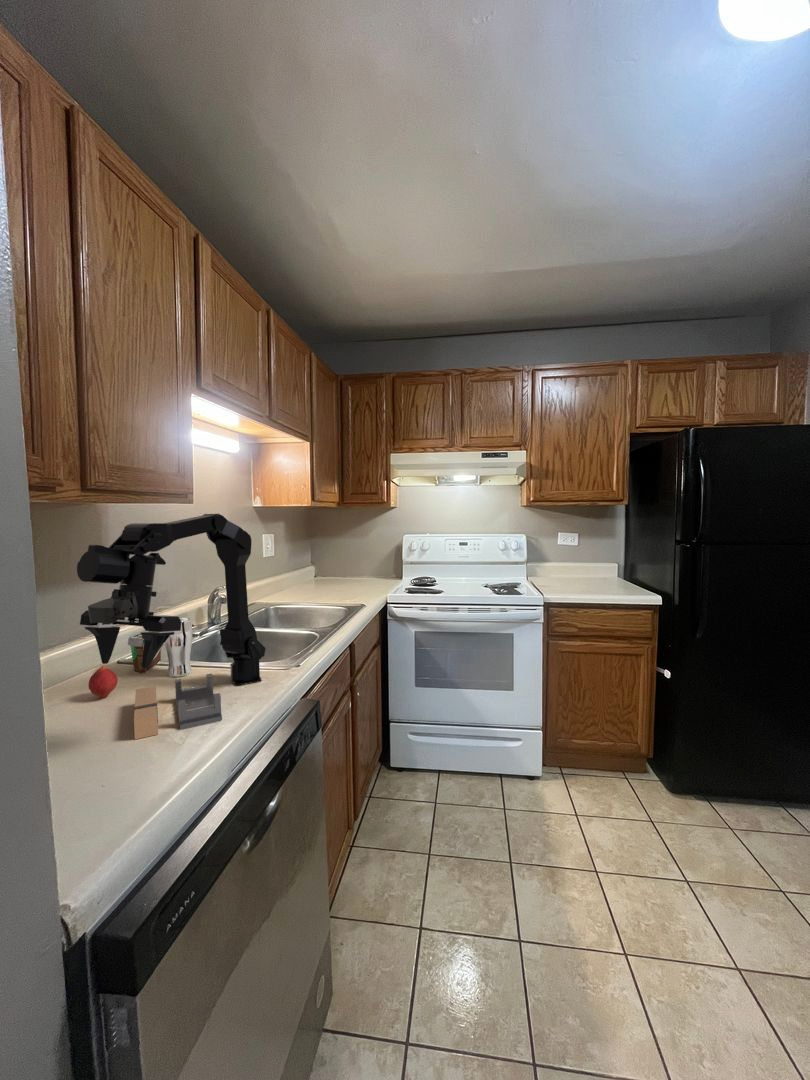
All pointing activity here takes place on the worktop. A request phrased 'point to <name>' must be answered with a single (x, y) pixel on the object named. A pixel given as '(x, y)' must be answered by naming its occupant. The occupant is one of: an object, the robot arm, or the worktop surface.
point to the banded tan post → (145, 713)
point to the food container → (141, 652)
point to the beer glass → (180, 649)
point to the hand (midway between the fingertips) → (124, 665)
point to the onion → (103, 682)
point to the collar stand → (197, 704)
